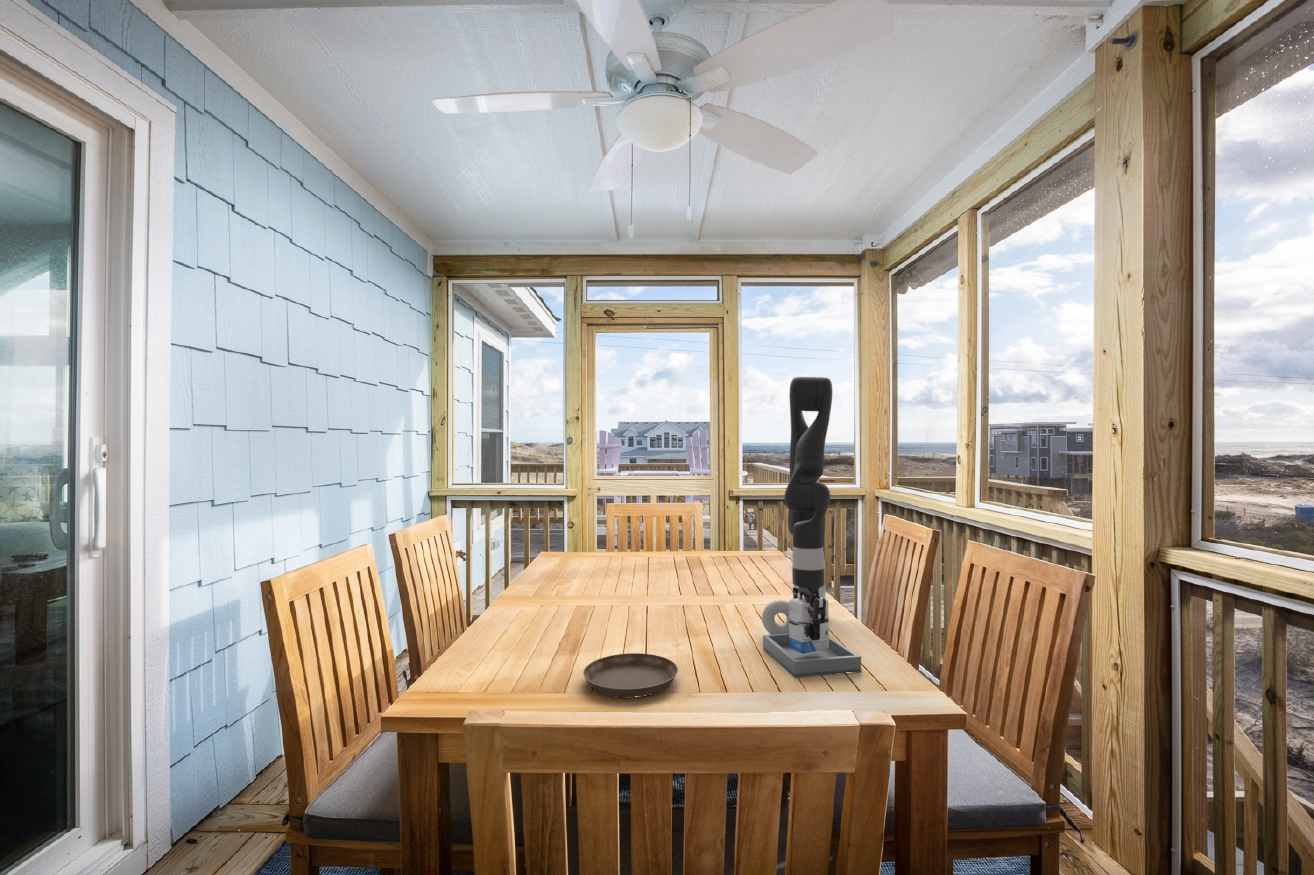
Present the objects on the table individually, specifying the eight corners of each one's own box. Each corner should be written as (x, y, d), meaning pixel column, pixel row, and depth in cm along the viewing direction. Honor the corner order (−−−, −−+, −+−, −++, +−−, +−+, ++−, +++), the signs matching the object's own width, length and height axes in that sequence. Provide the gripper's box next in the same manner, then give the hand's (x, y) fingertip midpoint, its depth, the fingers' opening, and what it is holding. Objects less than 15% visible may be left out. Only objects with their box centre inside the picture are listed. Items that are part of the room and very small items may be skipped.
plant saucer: (644, 711, 123) (644, 694, 123) (563, 690, 134) (563, 674, 134) (694, 677, 141) (694, 662, 141) (619, 661, 151) (619, 647, 152)
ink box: (802, 654, 146) (801, 603, 146) (788, 648, 151) (787, 599, 151) (830, 648, 150) (829, 599, 150) (816, 642, 155) (815, 595, 155)
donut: (762, 638, 167) (761, 601, 167) (761, 634, 171) (761, 598, 171) (800, 640, 166) (799, 602, 166) (799, 636, 169) (798, 598, 169)
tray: (763, 648, 159) (762, 635, 159) (822, 644, 162) (821, 630, 162) (794, 677, 139) (794, 661, 139) (861, 672, 142) (861, 656, 142)
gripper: (836, 570, 144) (837, 644, 144) (810, 559, 158) (811, 626, 158) (806, 572, 143) (807, 646, 143) (782, 560, 157) (782, 628, 157)
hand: (809, 635), depth 150 cm, fingers closed on ink box, 5 cm apart
